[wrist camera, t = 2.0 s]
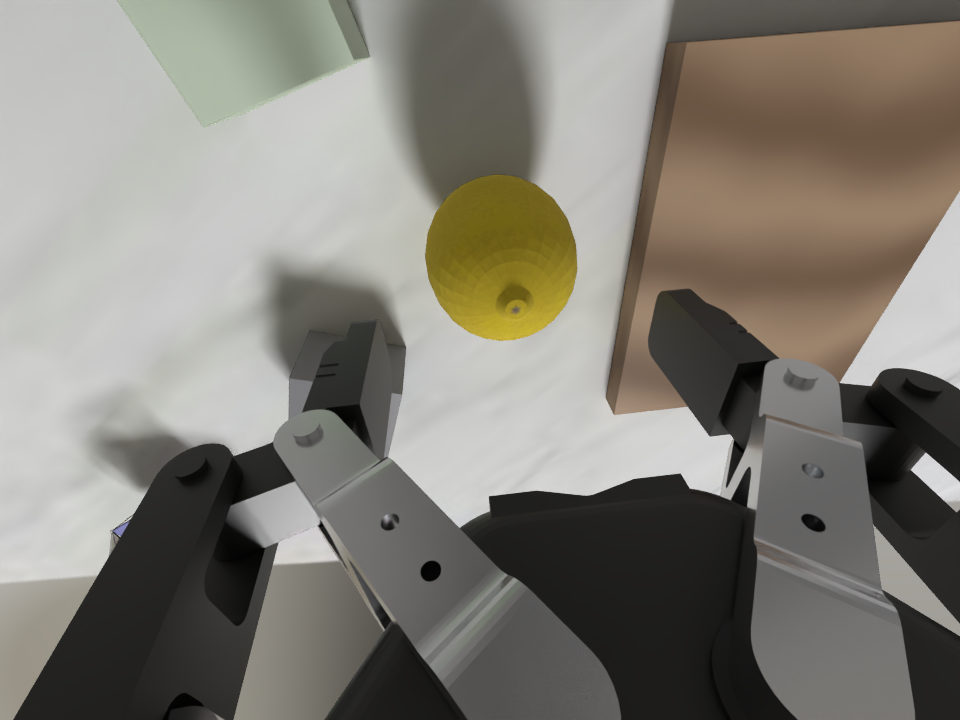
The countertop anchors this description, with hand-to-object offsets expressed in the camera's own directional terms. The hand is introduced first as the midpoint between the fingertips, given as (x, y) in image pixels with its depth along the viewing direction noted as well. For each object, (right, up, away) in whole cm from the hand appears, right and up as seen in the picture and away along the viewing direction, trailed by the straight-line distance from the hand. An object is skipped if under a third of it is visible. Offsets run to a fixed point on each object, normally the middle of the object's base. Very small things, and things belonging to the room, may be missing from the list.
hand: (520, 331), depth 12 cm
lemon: (-1, +6, +7) cm, 9 cm away
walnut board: (+13, +5, +9) cm, 17 cm away
